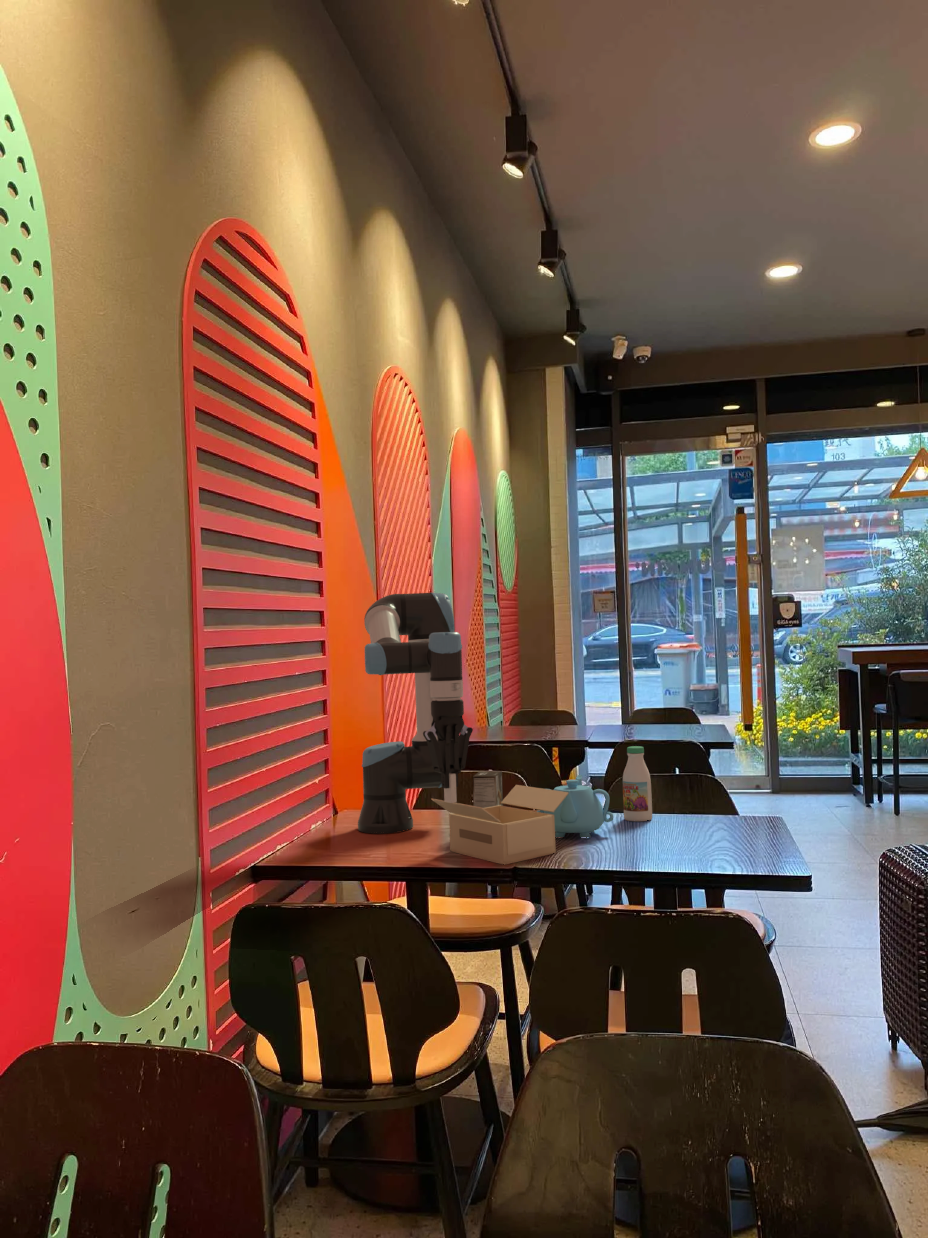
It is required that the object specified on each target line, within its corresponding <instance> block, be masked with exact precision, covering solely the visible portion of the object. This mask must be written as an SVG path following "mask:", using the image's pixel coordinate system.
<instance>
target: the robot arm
mask: <svg viewBox="0 0 928 1238" xmlns="http://www.w3.org/2000/svg"><path fill="white" fill-rule="evenodd" d="M363 623H364V627H365V630H366V633H368V634H369V640H370V643H367V644H366V645H365V646H364V668H365V670H364V671H365V674H367V675H378V676H384V675H404V674H414V687H415V712H416V713H415V715H416V716H415V717H416V719H415V720H416V721H415V722H416V734H415V735H414V736H413V738H412V739H411V746H410V745H409V746H405V742H403V741H389V742H383V743H380V744H379V743H377V744H375V745H371V746H368V747H366V748H365V749H364V750H363V752H362V762H361V767H362V788H363V789H362V791H363V792H362V793H363V794H362V795H363V802H362V806H361V809H360V812H359V817H358V821H357V830H358V831H359V832H360V833H365V834H392V833H393V834H394V832H395V833H401V832H400V831H402V832H404V831H403V830H406V831H408V830H407V829H409V830H412V829H413V828H414V819H413V816H412V814H411V810H410V807H409V803H408V802H407V798H406V797H407V796H406V793H407V792H406V790H414V789H431V788H432V789H433V788H435V789H436V788H438V789H440V788H442V789H443V800H444V802H448V803H458V801H457V787H458V786H459V774H461V772H462V770H465V769H466V763H467V757H468V750H469V745H470V738H471V736H472V733H473V731H474V728H472V727H470V726H469V727H468V726H467V725H466V724H465V721H464V718H463V716H464V713H465V712H464V711H465V710H464V708H465V707H464V700H463V699H461V698H463V697H464V685H463V684H464V682H463V657H462V654H463V651H462V649H463V644H462V636H461V633H459V632H458V631H455V630H456V629H455V628H456V627H455V617H454V612H453V607H452V603H451V600H450V598H449V596H448V595H447V594H446V593H441V592H432V591H431V592H414V593H393V594H392V593H391V594H389V595H386V596H383V597H381V598H379V599H377V600H376V601H374V602H373V603H372V604H371V605H370V606H369V607H368V608H367V610H366V613H365V614H364V622H363ZM401 636H407V642H406V641H404V642H402V641H401ZM412 827H413V828H412ZM411 828H412V829H411Z"/></svg>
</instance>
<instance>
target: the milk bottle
mask: <svg viewBox="0 0 928 1238" xmlns="http://www.w3.org/2000/svg"><path fill="white" fill-rule="evenodd" d="M626 755H627V762H626V764H625V765H626V766H625V768H624V770H623V773H622V799H623V800H622V802H623V805H622V806H623V818H624V821H628V822H648V821H647V820H649V821H651V820H653V803H652V801H653V799H652V797H653V796H652V783H651V782H652V781H651V774H650V772H649V769H648V767H647V764H646V761H645V760H644V755H645V749H644V746H639V745H638V746H637V745H635V746H634V745H632V746H628V747H627V748H626Z"/></svg>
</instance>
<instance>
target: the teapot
mask: <svg viewBox="0 0 928 1238" xmlns="http://www.w3.org/2000/svg"><path fill="white" fill-rule="evenodd" d="M565 782H566V785H560V786H559V785H558V786H556V787H554V789H553V790H556V791H563V792H568V793H569V794H568V795H567V796H566V797H565V799H564V800H563V801H562V802H561V804H560V805H559V806H558V807H557V809H556V810H555V811H554V812H549V811H543V810H536V812H541V813H547V814H553V815H554V822H555V837H564V838H565V835H566V833H568V834H573V833H574V834H579V838H580V837H586V838H587V837H591V838H592V835H591V833H589V832H594V833H595V831H597V830H599V829H600V827H602V826H603V824H604V822H605V823H610V822H612V821H613V820H614V814H613V813H612V812H611V811H609V807H610V794H609V793H608V791H606V790H604V789H600V788H597V789H594V790H593V789H592V787H590V786H588V785H583V775H582V774H578V775H577V776H576V777H575V779H568V780H565ZM548 789H549V790H551V789H550V788H548ZM597 794H602V795H603V796H604V798H605V802H604V806H602V803H601V801H600V799H599V797H598V796H597ZM608 815H609V817H607V816H608Z"/></svg>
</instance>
